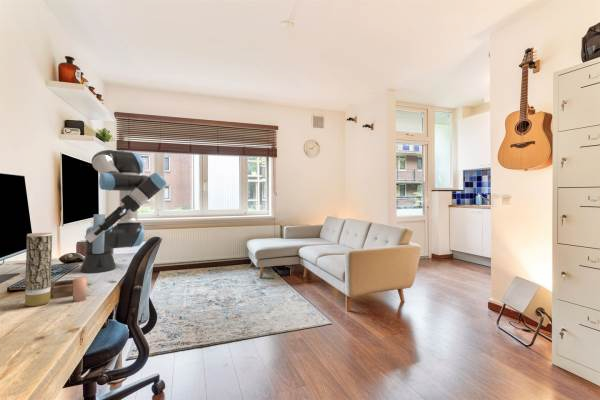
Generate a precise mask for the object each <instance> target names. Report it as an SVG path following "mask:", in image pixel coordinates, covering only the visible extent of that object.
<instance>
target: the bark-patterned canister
mask: <svg viewBox="0 0 600 400" xmlns="http://www.w3.org/2000/svg"><path fill="white" fill-rule="evenodd" d="M52 251H53V233H52V232H32V233H27V235H26V250H25V252H26V254H25V255H26V257H25V258H26V259H25V287H24V288H25V290H24V291H25V292H24V293H25V296H24V305H26V306H27V307H38V306H43V305H46V304H48V303H49V302H51V299H50V291H51V282H52V276H51V274H52V273H51V269H52V258H53V255H52Z"/></svg>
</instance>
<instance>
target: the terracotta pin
mask: <svg viewBox="0 0 600 400" xmlns="http://www.w3.org/2000/svg"><path fill="white" fill-rule="evenodd" d="M87 280H88V278H87V277H83V276H82V277H76V278H73V296H72V302H74V303H80V301H81V302H84V301H86V300H87V287H88V286H87V282H88V281H87Z"/></svg>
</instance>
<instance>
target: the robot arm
mask: <svg viewBox="0 0 600 400" xmlns="http://www.w3.org/2000/svg"><path fill="white" fill-rule="evenodd" d="M91 165H92V168H94V170H95V171H97V172H98V174H99V179H98V184H99V189H100V190H105V191H119V206H118V207H116V209H115V210H113V211H112V212H111V213H110V214H109V215H108V216H107V217H105V222H104V223H103V224H102V225H98V226H99V227H98V228H96V229H95V230H94V231H93V225H92V226H89V227H87V229H86V231H85V235H84V239H85V250H84V251H85V252H84V253H85V254H84V255H85V256H84V259H83V260H82V264H81V265H80V272H81V273H85V274H87V273H92V274H94V273H105V272H109V271H112V270H114V269H116V262H115V260H114V256H113V249H121V248H134V247H139V246H141V245H142V243H143V241H144V238H145V232H146V231H145V226H144V225H142V224H141V223H142V222H141V221H140V220H138V209H140V208H141V206H143V205H144V204H147V203H148V201H149V200H151V198H152V197H154V196H155V195H156V194H158V193H159V192H160V191H161V190H163V188H165V187H166V186H167V181H166V179H165V178H164V177H163V176H162V175H161V173H158V172H153V173H152V174H150V175H143V171H144V162H143V157H142V156H141V155H140V153H137V152H132V151H120V150H113V149H105V150H100V151H98V152H96V153H95V154H94V155H93V156H92V158H91ZM140 174H141V175H140ZM115 224H116V226H114V225H115ZM104 231H105V236H104V253H100V254H93V253H92V250H93V240H94V239H96V238H97V237H98V236H99V235H100V234H102V233H103V232H104Z"/></svg>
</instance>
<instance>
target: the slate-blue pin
mask: <svg viewBox="0 0 600 400" xmlns="http://www.w3.org/2000/svg"><path fill="white" fill-rule="evenodd" d="M105 218H106V214H102V213H101V214H99V213H98V214H97V213H95V214H93V222H92V223H93V225H92V226H93V231H94V230H95V229H96V228H98V227H99V226H98V225H102V224H103V223H104V222H105ZM104 236H105V231H104V232H103V233H102V234H100V235H99V236H98V237H97V238H96V239H94V240H93V250H92V253H93V254H100V253H104Z"/></svg>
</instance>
